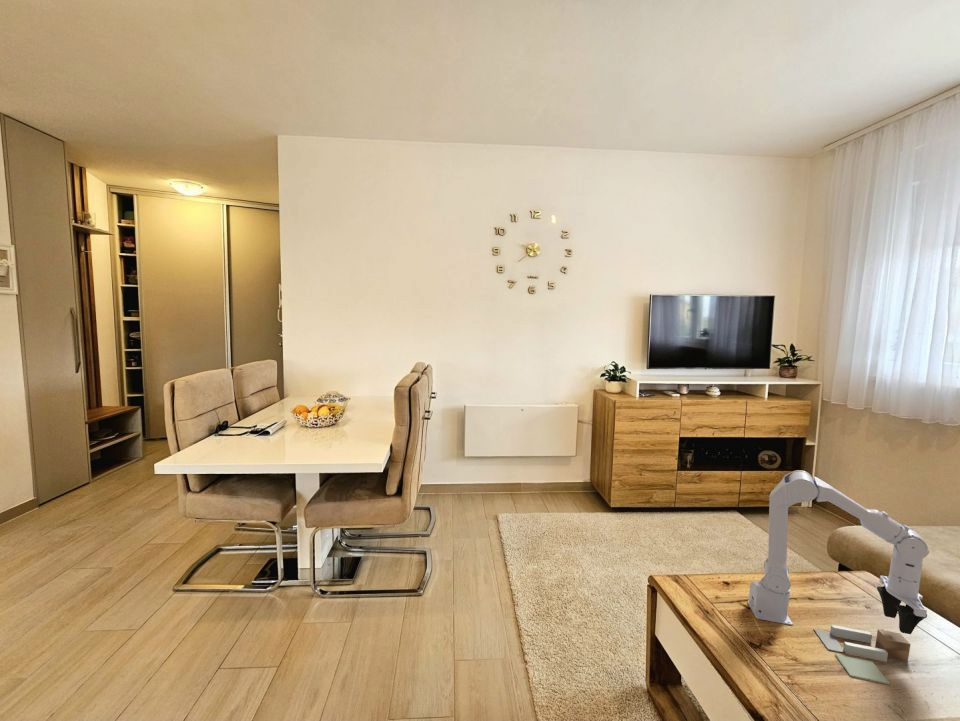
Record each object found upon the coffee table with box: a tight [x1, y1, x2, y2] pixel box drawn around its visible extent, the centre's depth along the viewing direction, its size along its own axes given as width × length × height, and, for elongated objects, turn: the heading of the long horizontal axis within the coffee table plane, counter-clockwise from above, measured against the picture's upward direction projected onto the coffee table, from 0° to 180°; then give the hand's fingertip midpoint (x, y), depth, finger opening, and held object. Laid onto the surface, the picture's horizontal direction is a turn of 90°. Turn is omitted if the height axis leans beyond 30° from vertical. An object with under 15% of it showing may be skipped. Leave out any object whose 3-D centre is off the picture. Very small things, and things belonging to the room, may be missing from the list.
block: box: [874, 628, 911, 663], centre depth 115 cm, size 5×4×5 cm
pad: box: [834, 653, 890, 686], centre depth 109 cm, size 8×7×1 cm
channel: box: [813, 624, 888, 663], centre depth 117 cm, size 13×8×2 cm, turn 75°
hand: (897, 624), depth 114 cm, fingers open, 6 cm apart
